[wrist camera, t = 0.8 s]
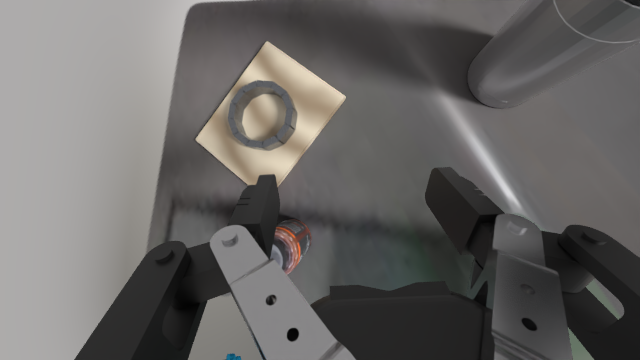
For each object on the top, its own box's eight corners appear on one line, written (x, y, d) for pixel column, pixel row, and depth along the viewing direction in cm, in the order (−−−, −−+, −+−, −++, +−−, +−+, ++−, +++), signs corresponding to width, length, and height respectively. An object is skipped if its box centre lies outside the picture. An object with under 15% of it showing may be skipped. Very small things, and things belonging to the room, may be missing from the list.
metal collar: (262, 76, 36) (255, 67, 34) (309, 111, 35) (306, 105, 32) (225, 126, 37) (216, 121, 34) (270, 163, 35) (264, 161, 33)
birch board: (269, 44, 37) (266, 40, 36) (345, 98, 35) (345, 96, 34) (199, 140, 39) (195, 139, 38) (268, 199, 36) (265, 200, 35)
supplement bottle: (274, 219, 36) (237, 233, 25) (310, 217, 35) (289, 230, 24) (276, 257, 36) (240, 289, 24) (313, 256, 35) (293, 288, 23)
